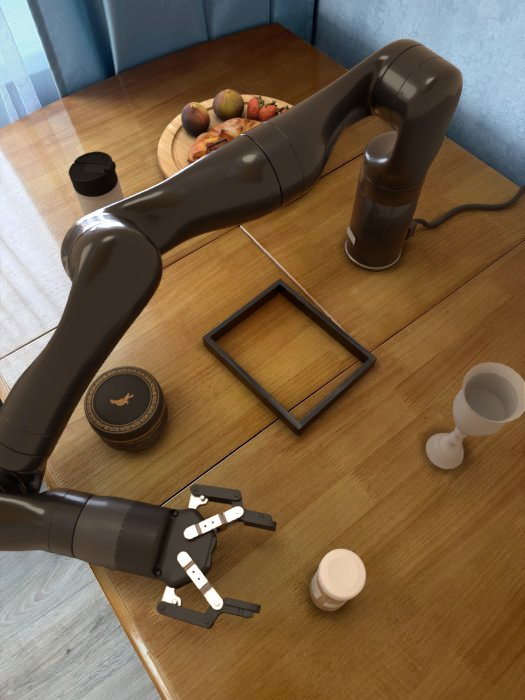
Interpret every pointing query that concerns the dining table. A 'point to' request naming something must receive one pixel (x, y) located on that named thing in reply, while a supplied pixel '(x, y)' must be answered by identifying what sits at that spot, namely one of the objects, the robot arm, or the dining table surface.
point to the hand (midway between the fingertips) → (268, 566)
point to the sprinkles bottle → (337, 579)
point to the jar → (126, 408)
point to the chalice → (479, 410)
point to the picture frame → (316, 317)
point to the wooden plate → (212, 127)
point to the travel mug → (95, 181)
